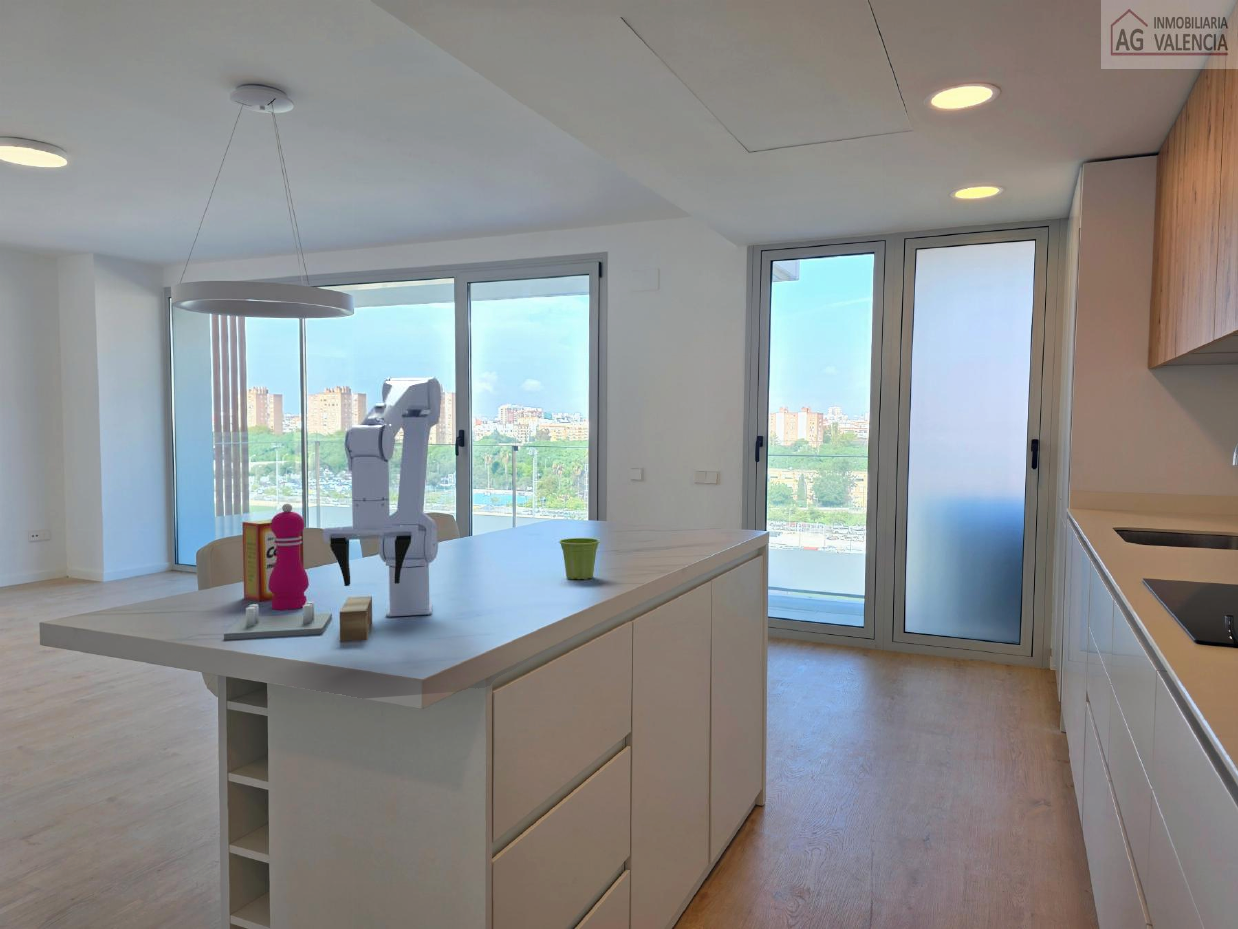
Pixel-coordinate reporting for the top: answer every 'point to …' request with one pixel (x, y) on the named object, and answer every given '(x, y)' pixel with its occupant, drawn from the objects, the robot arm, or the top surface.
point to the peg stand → (278, 624)
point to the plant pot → (579, 557)
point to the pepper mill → (288, 562)
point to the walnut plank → (356, 619)
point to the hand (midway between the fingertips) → (372, 583)
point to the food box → (259, 559)
